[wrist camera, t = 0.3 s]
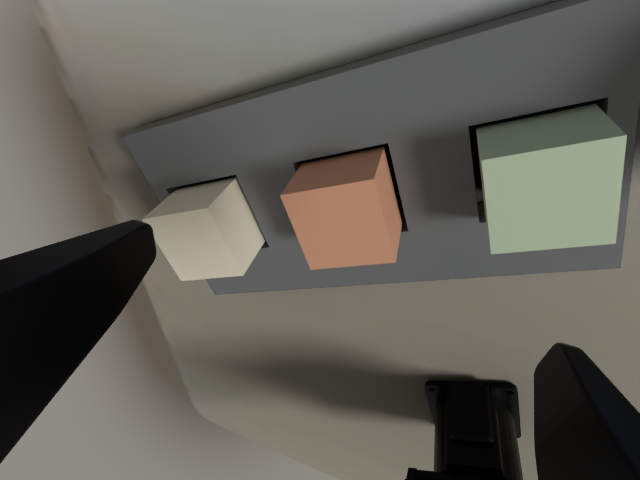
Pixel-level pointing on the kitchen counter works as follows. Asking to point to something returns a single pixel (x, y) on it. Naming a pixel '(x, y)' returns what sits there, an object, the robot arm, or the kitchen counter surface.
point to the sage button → (552, 180)
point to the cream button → (207, 230)
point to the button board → (410, 139)
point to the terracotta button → (345, 210)
